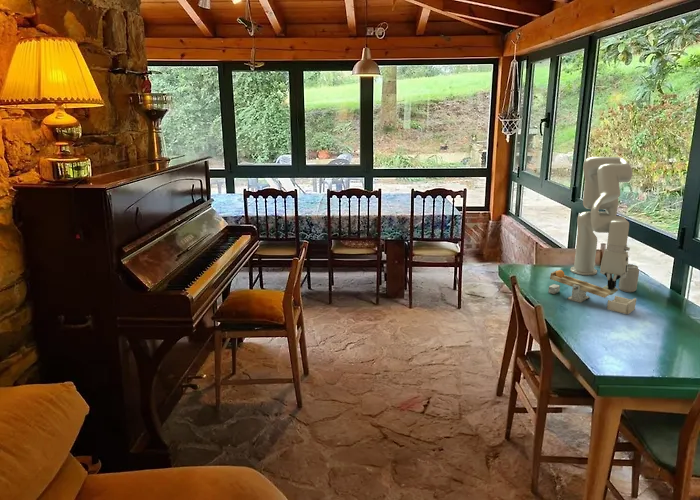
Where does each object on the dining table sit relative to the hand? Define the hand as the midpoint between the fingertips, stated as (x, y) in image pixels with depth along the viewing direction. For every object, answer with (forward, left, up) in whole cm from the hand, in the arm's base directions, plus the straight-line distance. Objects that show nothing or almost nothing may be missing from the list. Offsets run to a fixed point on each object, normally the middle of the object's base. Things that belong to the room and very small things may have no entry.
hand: (611, 288), depth 231 cm
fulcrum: (+8, -15, -5) cm, 18 cm away
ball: (+8, -20, +4) cm, 22 cm away
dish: (+8, +8, -6) cm, 12 cm away
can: (-19, +1, -6) cm, 20 cm away
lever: (+4, -11, 0) cm, 11 cm away
